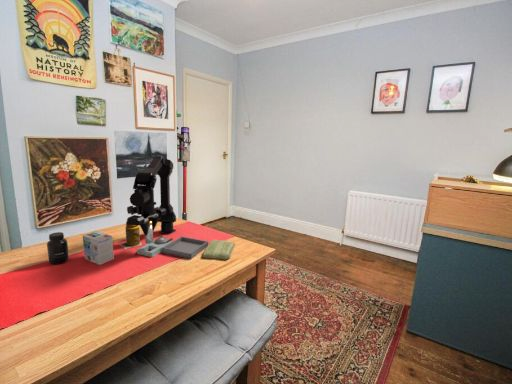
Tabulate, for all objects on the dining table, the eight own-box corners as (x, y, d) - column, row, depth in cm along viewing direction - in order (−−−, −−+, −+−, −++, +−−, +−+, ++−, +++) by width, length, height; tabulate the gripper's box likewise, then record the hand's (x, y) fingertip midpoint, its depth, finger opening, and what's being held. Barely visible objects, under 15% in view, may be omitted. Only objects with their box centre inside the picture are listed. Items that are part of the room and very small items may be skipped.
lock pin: (148, 240, 124) (147, 219, 121) (154, 241, 122) (153, 220, 120) (143, 242, 120) (142, 221, 118) (149, 244, 119) (148, 222, 117)
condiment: (143, 244, 131) (141, 221, 128) (124, 249, 125) (123, 225, 122) (137, 240, 136) (136, 217, 133) (119, 244, 130) (117, 221, 127)
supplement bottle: (58, 266, 108) (55, 238, 105) (44, 263, 109) (40, 236, 106) (73, 258, 114) (70, 232, 112) (60, 256, 116) (56, 230, 113)
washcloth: (235, 245, 135) (235, 239, 135) (229, 261, 118) (229, 254, 117) (210, 243, 136) (210, 237, 136) (200, 259, 119) (200, 252, 118)
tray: (181, 240, 137) (181, 236, 136) (207, 246, 132) (207, 241, 131) (162, 252, 123) (162, 247, 122) (190, 259, 118) (190, 253, 117)
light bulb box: (84, 258, 114) (81, 235, 112) (99, 253, 120) (97, 230, 118) (99, 265, 110) (97, 240, 107) (114, 258, 115) (112, 235, 113)
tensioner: (159, 240, 136) (159, 234, 135) (174, 243, 133) (174, 237, 132) (136, 253, 121) (136, 246, 120) (152, 257, 118) (152, 250, 117)
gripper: (147, 194, 128) (148, 224, 132) (115, 203, 111) (118, 238, 114) (166, 196, 125) (167, 228, 128) (136, 206, 108) (139, 242, 111)
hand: (148, 233), depth 121 cm, fingers closed on lock pin, 3 cm apart
